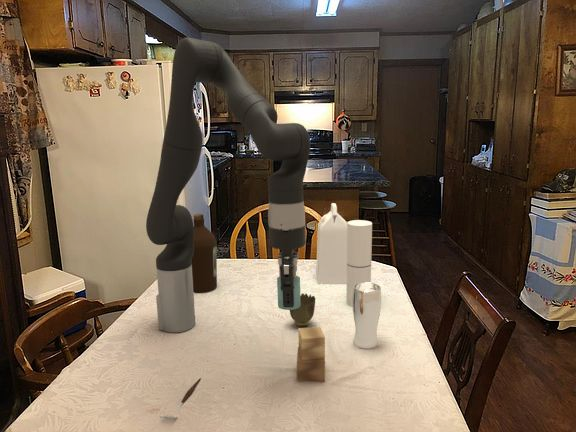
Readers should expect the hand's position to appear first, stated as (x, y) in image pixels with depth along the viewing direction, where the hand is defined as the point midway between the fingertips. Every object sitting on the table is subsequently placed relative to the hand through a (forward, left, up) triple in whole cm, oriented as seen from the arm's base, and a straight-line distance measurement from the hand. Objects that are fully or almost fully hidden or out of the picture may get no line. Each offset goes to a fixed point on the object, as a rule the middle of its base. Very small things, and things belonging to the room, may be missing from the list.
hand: (289, 301), depth 99 cm
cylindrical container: (+20, +41, -18) cm, 49 cm away
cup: (+3, +26, -18) cm, 31 cm away
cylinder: (0, 0, -1) cm, 1 cm away
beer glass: (+19, +16, -18) cm, 30 cm away
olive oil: (-30, +54, -18) cm, 64 cm away
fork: (-21, -8, -19) cm, 30 cm away
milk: (+14, +63, -18) cm, 67 cm away
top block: (+5, +2, -13) cm, 14 cm away
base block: (+5, +2, -18) cm, 19 cm away
